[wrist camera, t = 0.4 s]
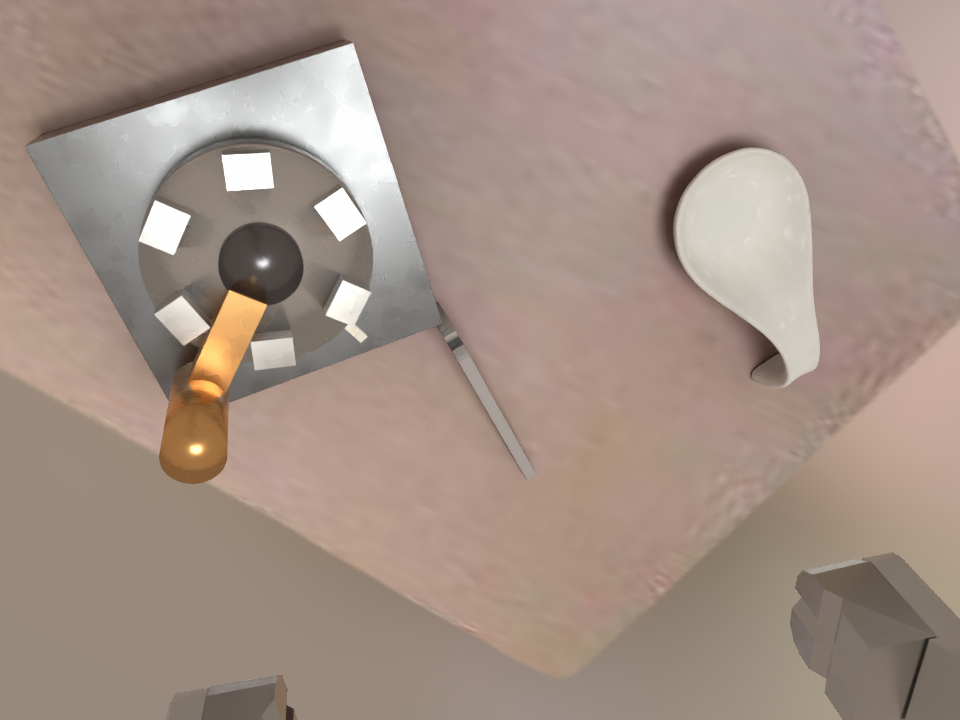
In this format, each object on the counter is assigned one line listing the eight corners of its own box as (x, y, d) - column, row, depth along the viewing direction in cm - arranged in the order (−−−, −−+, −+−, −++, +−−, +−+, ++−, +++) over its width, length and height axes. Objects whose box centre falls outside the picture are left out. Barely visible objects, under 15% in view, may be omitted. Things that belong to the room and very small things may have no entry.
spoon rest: (634, 190, 60) (680, 213, 54) (757, 112, 60) (816, 126, 54) (721, 397, 72) (766, 435, 66) (823, 331, 72) (878, 363, 66)
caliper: (424, 305, 59) (442, 337, 54) (436, 298, 59) (455, 329, 54) (525, 477, 69) (549, 518, 64) (535, 471, 69) (560, 512, 64)
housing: (40, 134, 46) (23, 146, 43) (344, 39, 49) (353, 43, 45) (183, 394, 56) (179, 421, 53) (430, 304, 59) (443, 324, 55)
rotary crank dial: (193, 95, 44) (181, 122, 35) (401, 198, 50) (438, 244, 41) (85, 361, 49) (49, 447, 40) (286, 425, 55) (296, 512, 46)
